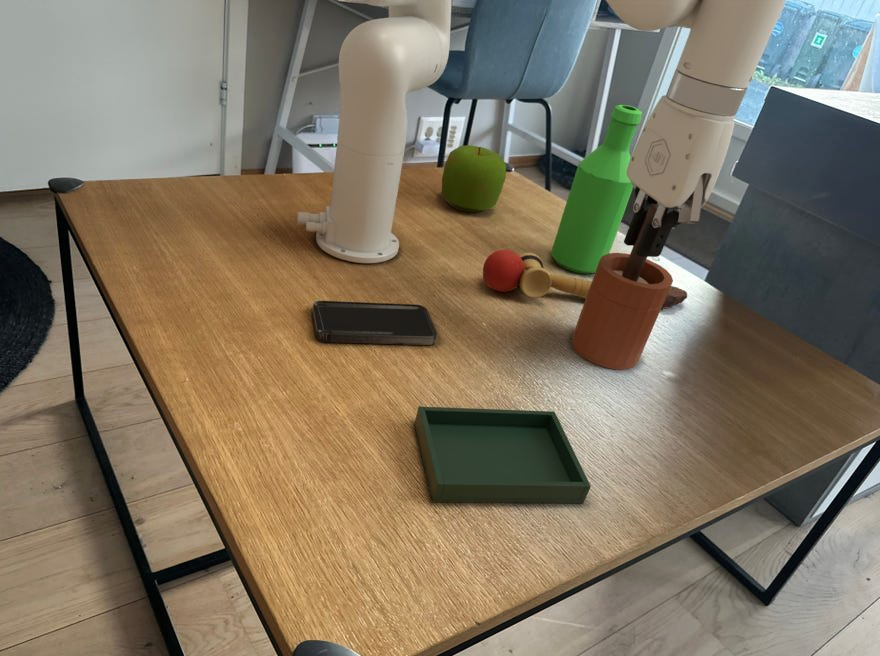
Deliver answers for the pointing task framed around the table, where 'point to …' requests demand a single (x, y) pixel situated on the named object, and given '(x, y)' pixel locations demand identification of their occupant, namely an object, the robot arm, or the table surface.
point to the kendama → (527, 275)
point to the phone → (373, 323)
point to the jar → (619, 312)
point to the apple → (473, 178)
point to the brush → (635, 261)
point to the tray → (498, 456)
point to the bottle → (597, 197)
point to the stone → (674, 297)
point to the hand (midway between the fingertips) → (641, 249)
